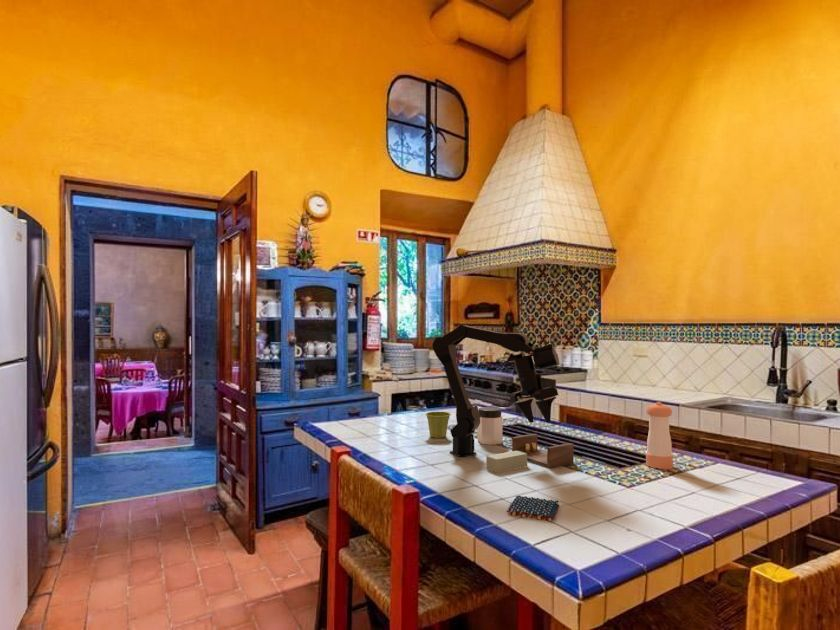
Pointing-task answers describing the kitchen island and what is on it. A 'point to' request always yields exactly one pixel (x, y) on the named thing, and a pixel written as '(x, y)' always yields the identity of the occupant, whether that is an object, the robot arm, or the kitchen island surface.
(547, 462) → the shelf frame
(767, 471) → the kitchen island surface
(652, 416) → the pepper shaker
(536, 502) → the woven mat
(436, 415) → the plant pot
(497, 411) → the jar
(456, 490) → the kitchen island surface
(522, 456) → the beige rectangular block
